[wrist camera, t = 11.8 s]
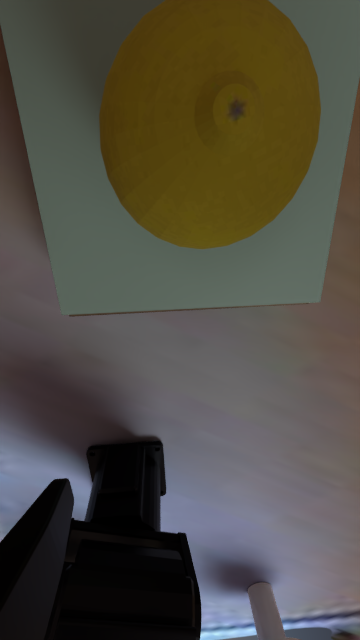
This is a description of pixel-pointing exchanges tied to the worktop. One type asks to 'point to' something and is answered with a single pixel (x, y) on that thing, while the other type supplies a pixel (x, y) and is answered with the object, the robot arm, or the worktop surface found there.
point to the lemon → (209, 119)
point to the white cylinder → (266, 613)
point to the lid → (100, 198)
